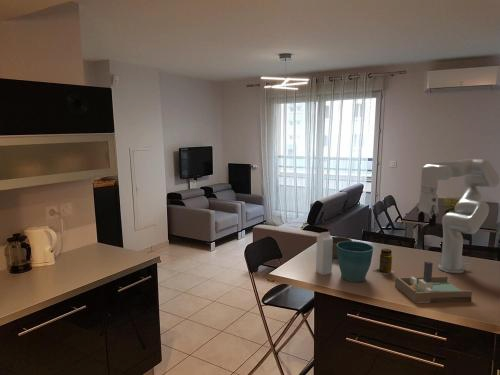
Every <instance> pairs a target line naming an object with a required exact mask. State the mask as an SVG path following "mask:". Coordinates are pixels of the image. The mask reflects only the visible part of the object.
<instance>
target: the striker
mask: <svg viewBox="0 0 500 375" xmlns="http://www.w3.org/2000/svg"><path fill="white" fill-rule="evenodd" d="M433 266H434V265H433V262H431V261H424V265H423V277H424V278H423V279H418V287H419V288H420V289H422V290H423V291H426V288H430V289H433V285H440V283H432V282H431V279H432V276H433Z"/></svg>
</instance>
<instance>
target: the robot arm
mask: <svg viewBox="0 0 500 375" xmlns="http://www.w3.org/2000/svg"><path fill="white" fill-rule="evenodd" d="M459 177H463V181H464V182H463V183H464V192H463V194H462V195H461V197H460V198H459V200H458V201H457V202H456V204H455V205H454V208H453V209H454V212H447V213H445V214H444V215H443V216H442V220H441V225H442V235H443V236H442V247H441V260H440V261H441V263H439V264H437V269H438V270H440V271H443V272H445V273H451V274H462V273H465V269H464V267H465V268H466V267H468V268H469V267H470V263H469V262H464V261H462V256H463V247H464V246H463V244H464V236H463V235H462V233H463V234H467V235H474V234H476V233H477V232H478V231H479V230H480V228H481V227H482V225H483V223H484V222H485V221H486V219H487V217H488V215H489V212H490V207H489V206H490V205H489V204H488V203H487V202H485V201H482V200H481V199H482V194H481V192H480V190H479V189H478V187H479V188H481V187H482V188H492V189H493V188H496V187H497V186H498V185H499V184H500V175H499V173H498V172H497V170H496V168H495V167H494V165H493V164H492V163H491V162H490V161H489V160H487V159H485V158H483V159H482V158H464V159H459V160H451V161H442V162H440V161H439V162H433V163H427V164H425V165H424V166H422V168H421V179H420V194H419V200H418V203H417V205H416V207H417V208H416V209H417V214H418V216H417V222H418V223H424V222H425V214H428V215H429V218H428V227H436V223H437V217H438V216H439V213H440V211H439V198H438V197H439V196H438V186H439V185H438V182H439V181H447V180H450V179H451V178H459Z"/></svg>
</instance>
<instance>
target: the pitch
mask: <svg viewBox="0 0 500 375" xmlns="http://www.w3.org/2000/svg"><path fill="white" fill-rule="evenodd" d="M423 278H424V276H407V277H405V276H402V277H398V276H397V277H395V279H394V287H395V289H397V290H399V291H400V293H402V294H403V295H404V296H406V297H407V298H408V299H409V300H411V301H412V302H413V303H414V304H423V303H450V302H452V303H453V302H471V301H472V294H473V293H472V292H473V291H472V290H468V289H467V290H462V289H460V288H458V287H456V286H455V285H454V284H451V282H448V278H449V277H448V276H447V275H441V276H433V275H432V279H431V282H432V283H440V285H433V289H430V288H426V291H423V290H422V289H420V288H419V287H418V279H423ZM411 285H413V286H415V287H416V288H417V291H416V290H415V289H413V288H412V287H411Z"/></svg>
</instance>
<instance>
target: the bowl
mask: <svg viewBox="0 0 500 375" xmlns="http://www.w3.org/2000/svg"><path fill="white" fill-rule="evenodd" d="M331 237H332V239H333V247H332V258H335V259H336V258H337V259H338V256H337V244H338V243H339V242H343V241H353V240H352V239H351V238H349V237H344V236H331Z"/></svg>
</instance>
